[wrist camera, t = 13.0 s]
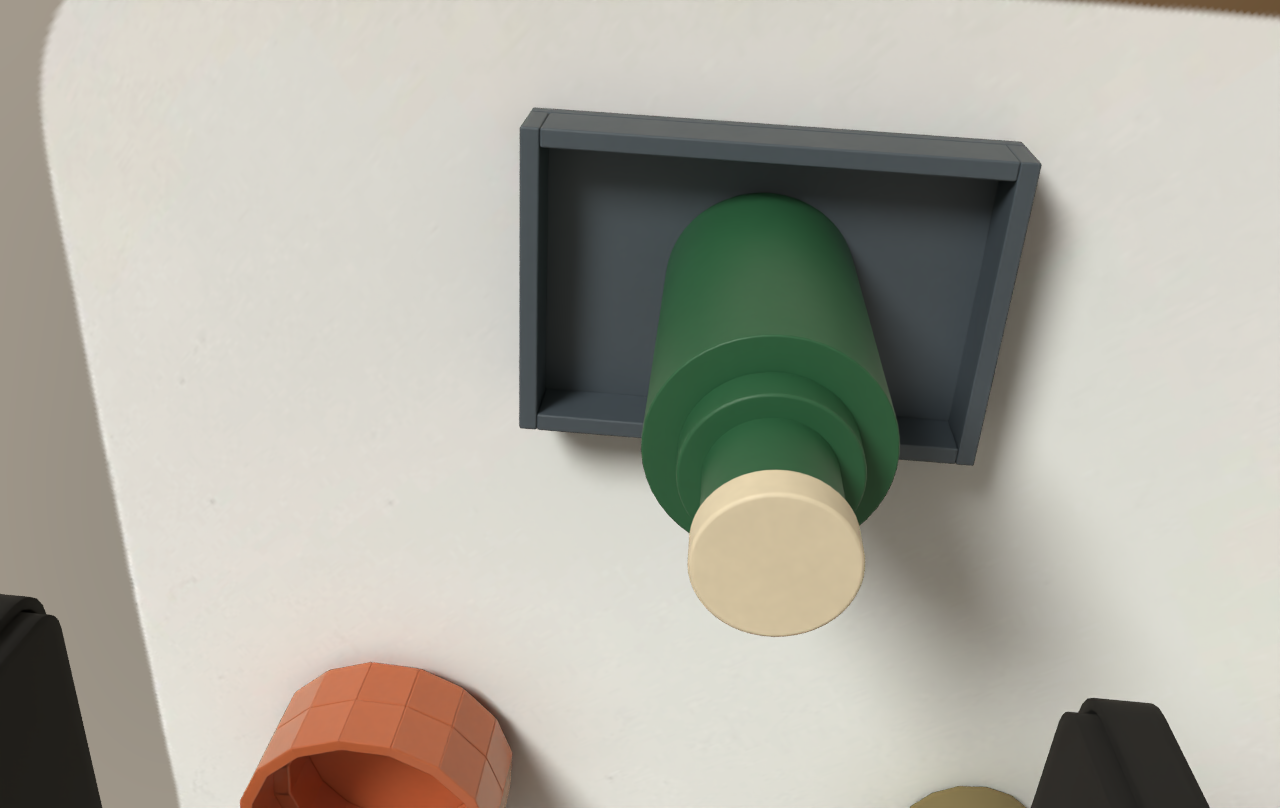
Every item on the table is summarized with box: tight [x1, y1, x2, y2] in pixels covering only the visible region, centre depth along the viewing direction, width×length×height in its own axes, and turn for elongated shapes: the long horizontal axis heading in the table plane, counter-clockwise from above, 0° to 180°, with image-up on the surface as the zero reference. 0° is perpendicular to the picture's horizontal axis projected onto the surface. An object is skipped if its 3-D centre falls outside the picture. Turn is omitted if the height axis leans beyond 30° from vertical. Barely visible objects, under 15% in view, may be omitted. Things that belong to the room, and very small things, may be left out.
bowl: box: [240, 662, 512, 808], centre depth 46 cm, size 10×10×5 cm
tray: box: [519, 108, 1041, 466], centre depth 36 cm, size 15×10×2 cm
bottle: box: [641, 193, 900, 637], centre depth 29 cm, size 6×6×16 cm
